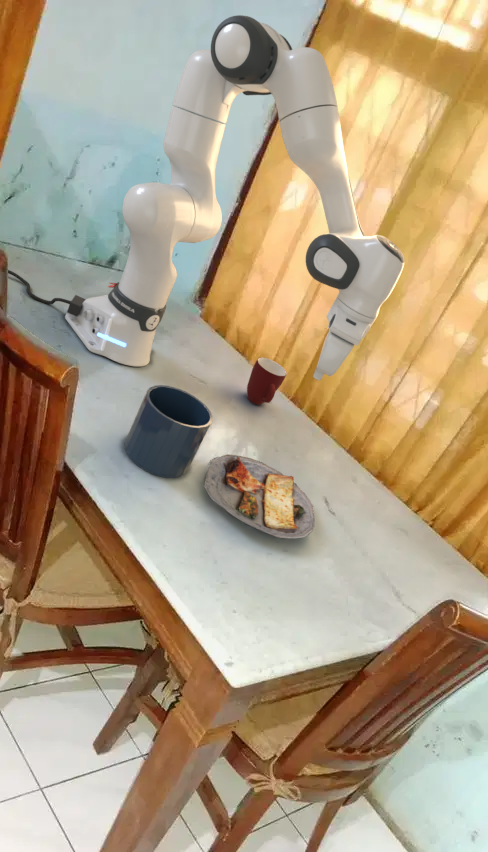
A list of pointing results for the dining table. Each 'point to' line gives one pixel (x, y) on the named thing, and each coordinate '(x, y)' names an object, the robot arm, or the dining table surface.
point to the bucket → (167, 431)
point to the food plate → (260, 496)
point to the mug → (264, 380)
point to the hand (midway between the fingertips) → (316, 376)
